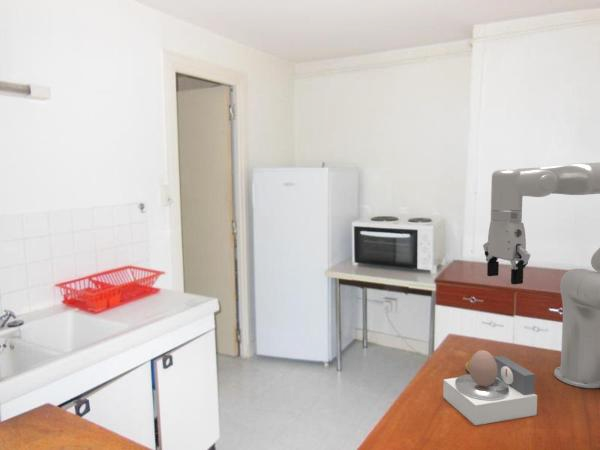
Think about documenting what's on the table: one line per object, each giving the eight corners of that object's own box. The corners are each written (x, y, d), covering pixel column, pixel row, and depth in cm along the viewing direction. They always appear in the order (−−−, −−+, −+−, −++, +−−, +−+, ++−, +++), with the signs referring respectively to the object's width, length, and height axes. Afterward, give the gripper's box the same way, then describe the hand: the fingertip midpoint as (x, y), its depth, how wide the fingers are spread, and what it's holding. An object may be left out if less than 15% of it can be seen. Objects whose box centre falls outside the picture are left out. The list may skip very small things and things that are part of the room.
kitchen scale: (499, 388, 124) (500, 353, 123) (536, 414, 111) (538, 375, 110) (443, 397, 120) (443, 361, 119) (475, 425, 107) (475, 385, 106)
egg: (492, 379, 117) (492, 345, 116) (501, 392, 111) (502, 356, 110) (465, 379, 118) (466, 345, 117) (473, 391, 111) (473, 355, 110)
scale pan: (487, 374, 122) (487, 371, 122) (520, 396, 110) (520, 393, 110) (445, 380, 119) (445, 377, 119) (474, 403, 107) (474, 400, 107)
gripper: (542, 218, 113) (540, 286, 115) (497, 213, 129) (495, 272, 131) (516, 220, 111) (514, 288, 113) (474, 214, 128) (472, 274, 130)
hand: (504, 279), depth 122 cm, fingers open, 9 cm apart
